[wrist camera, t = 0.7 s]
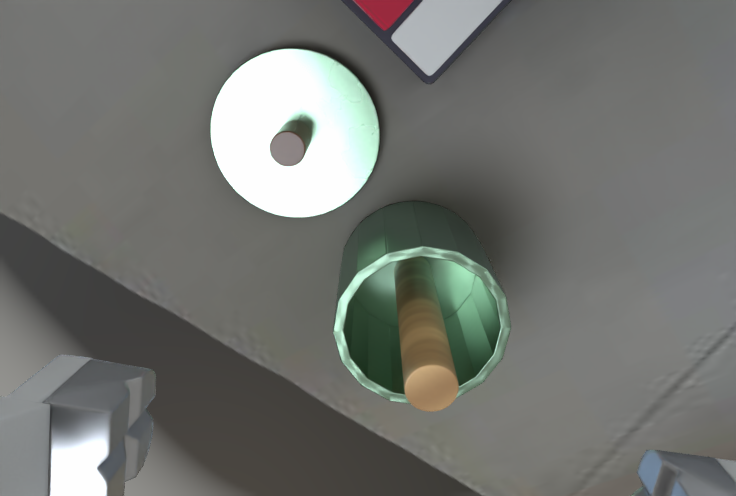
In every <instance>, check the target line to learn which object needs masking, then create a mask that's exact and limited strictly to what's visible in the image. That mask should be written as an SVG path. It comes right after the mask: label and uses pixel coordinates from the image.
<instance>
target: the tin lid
mask: <svg viewBox="0 0 736 496" xmlns="http://www.w3.org/2000/svg"><path fill="white" fill-rule="evenodd" d="M210 136H211V145H212V149H213V153H214V156H215V159H216V162H217V164H218V166H219V168H220V170H221V172H222V174H223V176H224V177H225V178H226V180H227V181H228V183H229V184H230V185H231V186H232V188H233V189H234V190H235V191H236V192H237V193H238V194H239V195H241V196H242V197H243V198H244V199H245V200H247V201H248V202H250V203H251V204H253V205H254V206H256V207H258V208H260V209H262V210H264V211H266V212H269V213H272V214H275V215H279V216H284V217H293V218H306V217H312V216H318V215H321V214H325V213H328V212H330V211H332V210H335V209H337V208H338V207H340V206H342V205H343V204H345V203H346V202H348V201H349V200H350V199H351V198H353V197H354V196H355V195H356V194H357V193H358V192H359V191H360V190H361V188H362V187H363V186H364V184H365V183H366V182H367V180H368V178H369V176H370V175H371V173H372V171H373V168H374V166H375V163H376V160H377V156H378V152H379V144H380V127H379V120H378V115H377V112H376V108H375V105H374V103H373V101H372V98H371V96H370V94H369V93H368V91H367V89H366V88H365V86H364V85H363V83H362V82H361V81H360V80H359V78H358V77H357V76H356V75H355V74H354V73H353V72H352V71H351V70H350V69H349V68H347V67H346V66H345V65H343V64H342V63H341V62H339V61H337V60H336V59H334V58H332V57H330V56H328V55H326V54H323V53H321V52H318V51H314V50H310V49H303V48H281V49H275V50H271V51H268V52H265V53H262V54H260V55H257V56H255V57H253V58H251V59H250V60H248V61H247V62H245V63H244V64H242V65H241V66H240V67H239V68H237V69H236V70H235V71H234V72H233V73H232V74H231V75H230V77H229V78H228V79H227V80H226V81H225V83H224V85H223V86H222V88H221V89H220V91H219V93H218V96H217V98H216V100H215V103H214V107H213V110H212V115H211V122H210Z"/></svg>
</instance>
